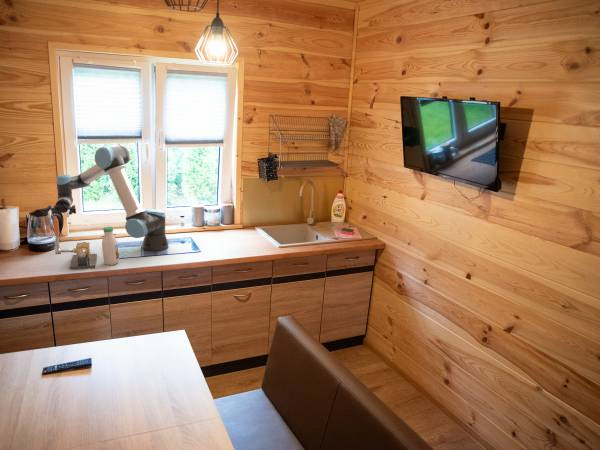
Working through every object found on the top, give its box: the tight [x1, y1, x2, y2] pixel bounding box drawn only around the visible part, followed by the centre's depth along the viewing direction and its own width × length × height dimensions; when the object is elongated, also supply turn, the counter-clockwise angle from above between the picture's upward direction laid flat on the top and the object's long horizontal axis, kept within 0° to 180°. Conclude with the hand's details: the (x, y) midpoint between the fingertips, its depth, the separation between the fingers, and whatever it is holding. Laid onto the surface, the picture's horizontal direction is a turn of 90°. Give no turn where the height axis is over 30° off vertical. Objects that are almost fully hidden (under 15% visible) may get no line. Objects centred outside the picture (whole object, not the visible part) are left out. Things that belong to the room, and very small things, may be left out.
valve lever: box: [52, 219, 74, 255], centre depth 241 cm, size 8×3×18 cm, turn 110°
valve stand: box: [69, 241, 98, 270], centre depth 247 cm, size 12×19×10 cm, turn 20°
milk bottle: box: [101, 226, 120, 266], centre depth 247 cm, size 8×8×20 cm
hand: (58, 215), depth 247 cm, fingers open, 8 cm apart
